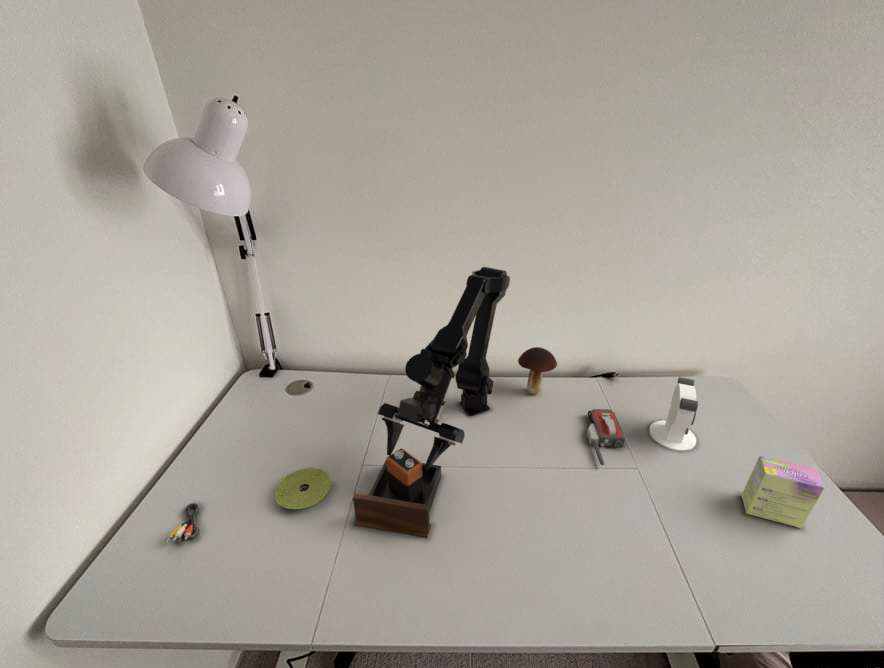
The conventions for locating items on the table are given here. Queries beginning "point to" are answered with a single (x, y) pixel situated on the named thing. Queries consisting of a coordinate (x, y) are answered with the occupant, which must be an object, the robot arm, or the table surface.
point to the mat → (303, 488)
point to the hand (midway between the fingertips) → (406, 462)
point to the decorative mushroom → (537, 366)
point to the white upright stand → (678, 419)
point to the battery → (404, 475)
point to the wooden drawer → (397, 505)
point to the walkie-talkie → (604, 430)
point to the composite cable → (186, 526)
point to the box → (782, 491)
